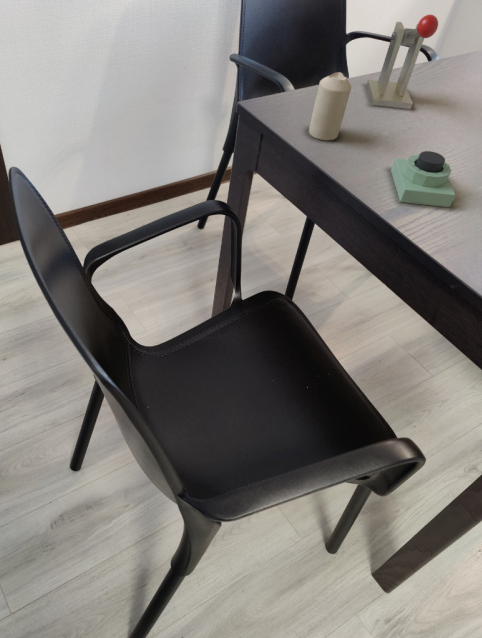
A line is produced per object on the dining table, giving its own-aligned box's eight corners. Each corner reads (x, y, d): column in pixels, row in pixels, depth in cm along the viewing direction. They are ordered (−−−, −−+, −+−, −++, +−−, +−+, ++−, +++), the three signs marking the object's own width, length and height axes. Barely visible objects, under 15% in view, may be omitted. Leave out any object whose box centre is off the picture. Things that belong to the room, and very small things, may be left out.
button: (437, 162, 82) (442, 152, 80) (442, 175, 79) (447, 164, 78) (413, 160, 82) (417, 149, 81) (417, 172, 79) (422, 162, 78)
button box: (436, 175, 86) (447, 152, 83) (449, 207, 80) (461, 184, 77) (390, 170, 87) (399, 147, 83) (399, 202, 80) (409, 178, 77)
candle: (313, 124, 96) (327, 66, 88) (341, 131, 95) (357, 73, 87) (304, 135, 93) (317, 76, 85) (333, 143, 91) (349, 84, 84)
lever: (437, 37, 87) (443, 13, 85) (418, 35, 87) (423, 11, 85) (411, 49, 100) (416, 29, 98) (394, 47, 100) (399, 27, 98)
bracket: (410, 109, 103) (437, 37, 93) (371, 105, 103) (394, 33, 93) (402, 89, 109) (427, 20, 99) (366, 85, 109) (386, 16, 99)
